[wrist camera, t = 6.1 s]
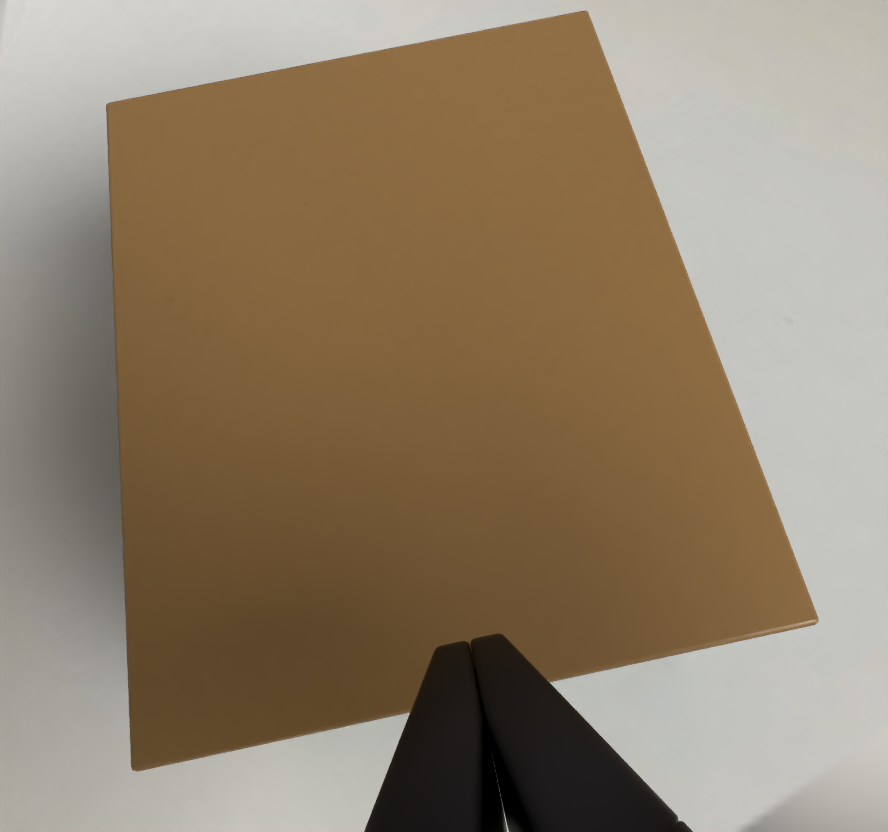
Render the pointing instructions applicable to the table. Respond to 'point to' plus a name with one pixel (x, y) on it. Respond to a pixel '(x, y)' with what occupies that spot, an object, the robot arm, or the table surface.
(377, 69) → the lid
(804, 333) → the table surface
